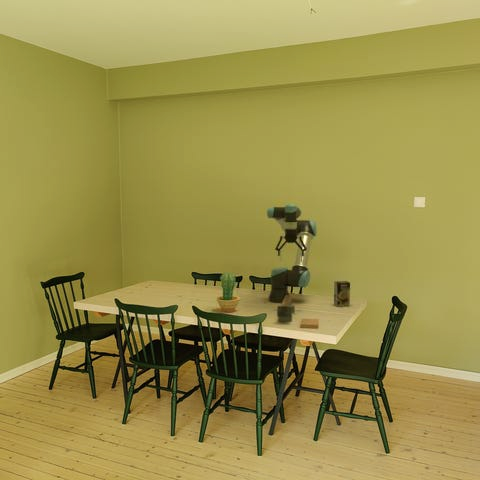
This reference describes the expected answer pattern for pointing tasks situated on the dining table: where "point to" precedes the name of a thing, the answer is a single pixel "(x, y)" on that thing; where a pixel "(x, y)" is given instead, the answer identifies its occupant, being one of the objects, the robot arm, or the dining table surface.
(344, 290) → the coffee box
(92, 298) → the dining table surface
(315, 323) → the green rectangular panel
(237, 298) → the potted cactus
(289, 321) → the tool rack
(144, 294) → the dining table surface
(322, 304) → the dining table surface
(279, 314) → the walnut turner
